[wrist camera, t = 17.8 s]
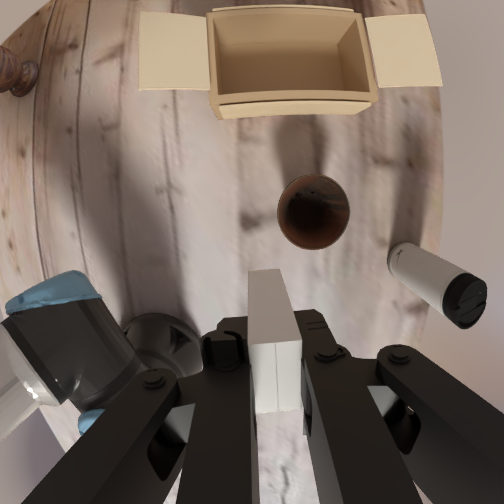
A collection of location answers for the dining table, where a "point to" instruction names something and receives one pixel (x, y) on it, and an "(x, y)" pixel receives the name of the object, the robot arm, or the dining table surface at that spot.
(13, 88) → the mortar and pestle
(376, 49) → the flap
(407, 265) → the travel mug
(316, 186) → the cup
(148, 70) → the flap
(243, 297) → the dining table surface
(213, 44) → the carton
